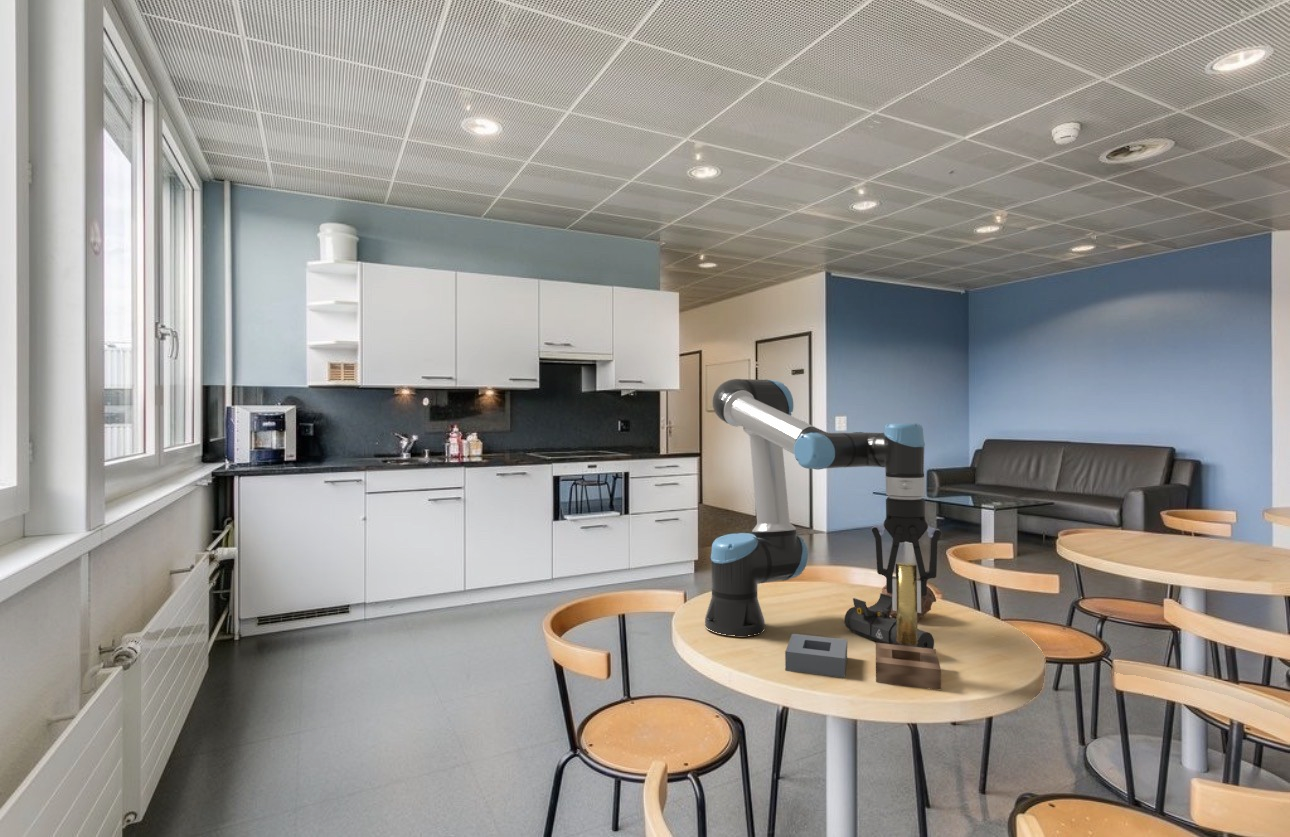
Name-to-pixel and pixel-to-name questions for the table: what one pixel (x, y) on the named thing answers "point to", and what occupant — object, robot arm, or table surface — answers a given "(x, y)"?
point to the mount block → (816, 655)
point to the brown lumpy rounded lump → (925, 602)
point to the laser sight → (880, 623)
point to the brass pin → (906, 603)
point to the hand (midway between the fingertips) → (906, 609)
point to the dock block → (907, 666)
